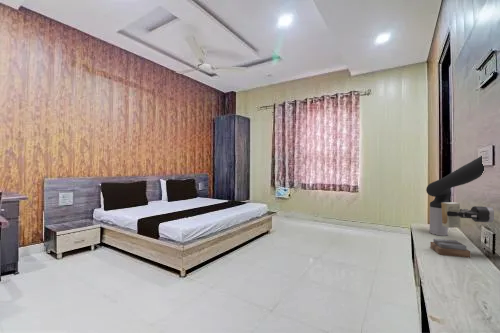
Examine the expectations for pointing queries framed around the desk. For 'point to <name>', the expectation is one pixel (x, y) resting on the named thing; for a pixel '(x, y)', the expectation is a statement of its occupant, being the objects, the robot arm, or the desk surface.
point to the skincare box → (450, 220)
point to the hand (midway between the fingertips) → (444, 212)
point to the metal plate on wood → (449, 248)
